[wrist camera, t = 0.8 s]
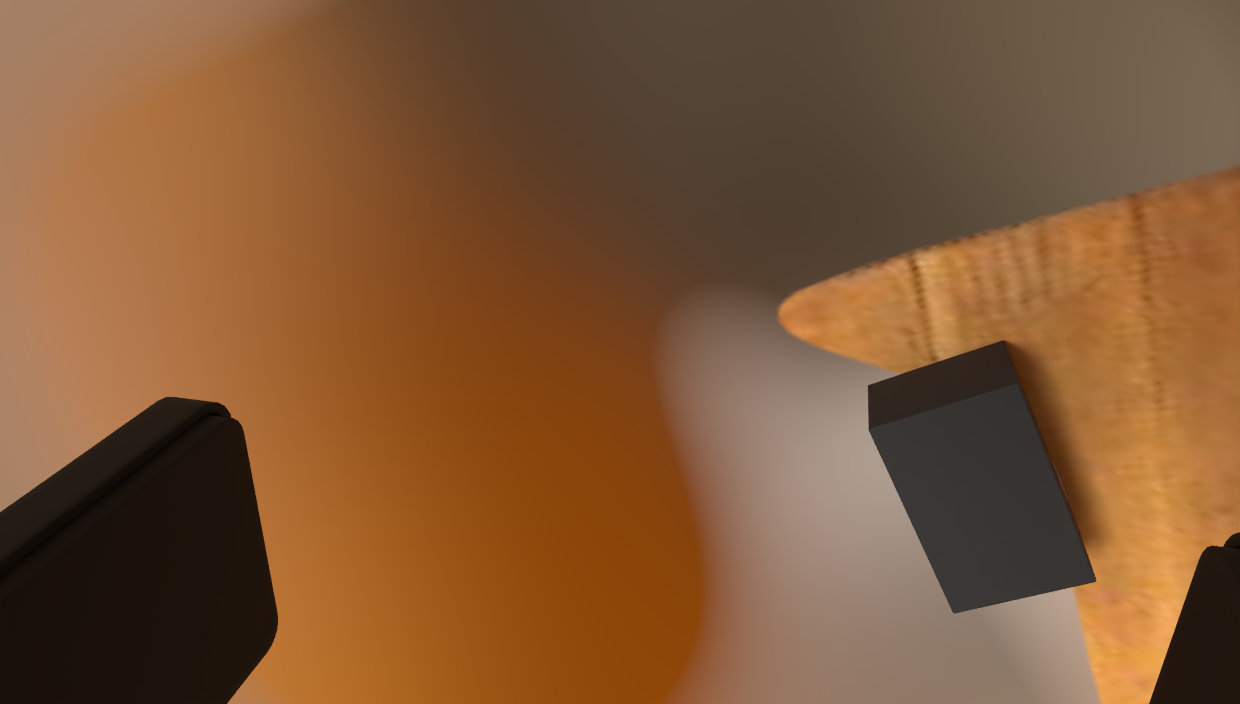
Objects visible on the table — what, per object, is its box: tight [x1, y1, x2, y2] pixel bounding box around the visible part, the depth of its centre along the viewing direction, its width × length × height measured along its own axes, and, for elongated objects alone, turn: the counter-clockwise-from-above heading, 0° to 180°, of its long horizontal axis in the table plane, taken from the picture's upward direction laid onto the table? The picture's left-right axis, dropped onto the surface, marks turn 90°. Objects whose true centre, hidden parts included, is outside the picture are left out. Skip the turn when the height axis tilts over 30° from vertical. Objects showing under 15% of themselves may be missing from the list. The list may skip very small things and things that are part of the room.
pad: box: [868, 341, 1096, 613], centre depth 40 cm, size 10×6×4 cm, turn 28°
